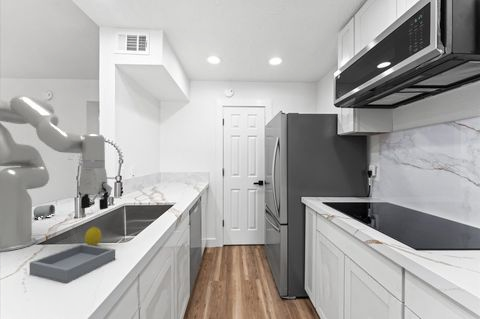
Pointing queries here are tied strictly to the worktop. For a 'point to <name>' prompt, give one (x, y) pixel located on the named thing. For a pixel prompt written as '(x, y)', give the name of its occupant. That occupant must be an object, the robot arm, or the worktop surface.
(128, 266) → the worktop surface
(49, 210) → the ceramic mug
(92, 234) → the lemon
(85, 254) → the tray
